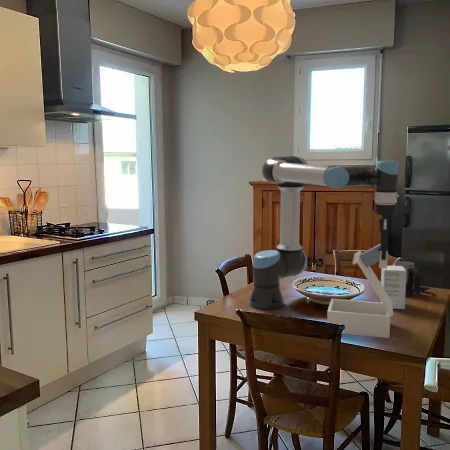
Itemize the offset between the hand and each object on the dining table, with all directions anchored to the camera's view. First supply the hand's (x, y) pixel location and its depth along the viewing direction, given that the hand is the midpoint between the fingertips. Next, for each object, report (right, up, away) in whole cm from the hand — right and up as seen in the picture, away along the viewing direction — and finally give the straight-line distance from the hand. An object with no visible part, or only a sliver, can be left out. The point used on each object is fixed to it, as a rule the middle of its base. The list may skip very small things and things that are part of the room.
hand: (382, 266), depth 173 cm
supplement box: (+15, -20, +31) cm, 40 cm away
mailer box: (-7, -24, +6) cm, 26 cm away
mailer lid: (-4, -7, +2) cm, 8 cm away
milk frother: (+30, -17, +49) cm, 59 cm away
